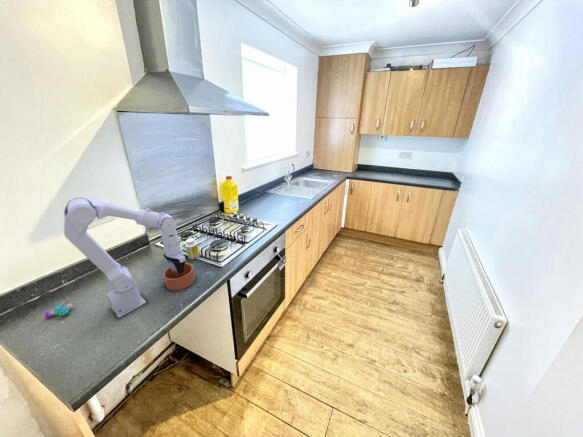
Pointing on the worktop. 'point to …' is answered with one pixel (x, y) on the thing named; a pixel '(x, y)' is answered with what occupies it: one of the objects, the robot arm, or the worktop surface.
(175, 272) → the steel cup
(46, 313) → the multicoloured toy
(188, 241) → the supplement bottle
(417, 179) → the worktop surface
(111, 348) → the worktop surface
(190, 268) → the terracotta round bowl
